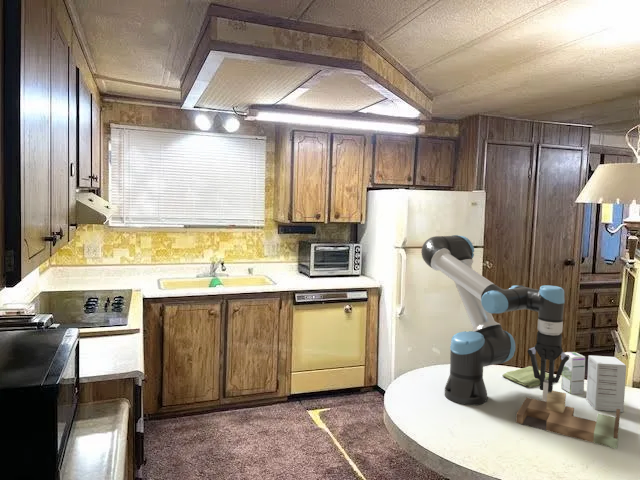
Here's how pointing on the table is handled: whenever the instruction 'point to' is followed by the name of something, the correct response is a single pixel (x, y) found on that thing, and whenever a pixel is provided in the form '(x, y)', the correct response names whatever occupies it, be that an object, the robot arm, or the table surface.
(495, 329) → the robot arm
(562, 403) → the maple block
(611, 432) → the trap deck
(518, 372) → the washcloth
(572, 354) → the syrup box
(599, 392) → the supplement box
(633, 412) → the table surface
